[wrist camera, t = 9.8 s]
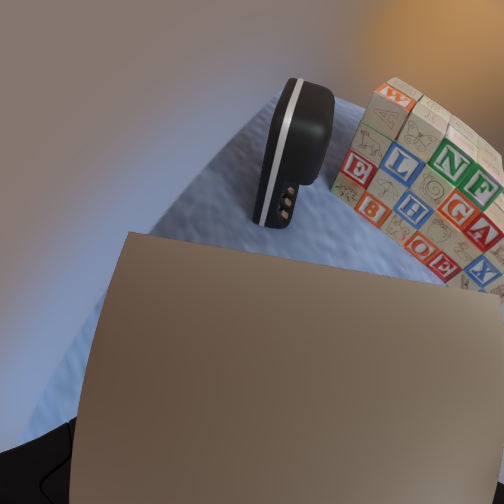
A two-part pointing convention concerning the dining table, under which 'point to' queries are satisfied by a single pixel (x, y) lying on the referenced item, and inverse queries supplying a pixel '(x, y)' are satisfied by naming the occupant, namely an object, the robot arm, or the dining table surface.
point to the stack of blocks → (428, 187)
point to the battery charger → (293, 150)
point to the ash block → (286, 385)
